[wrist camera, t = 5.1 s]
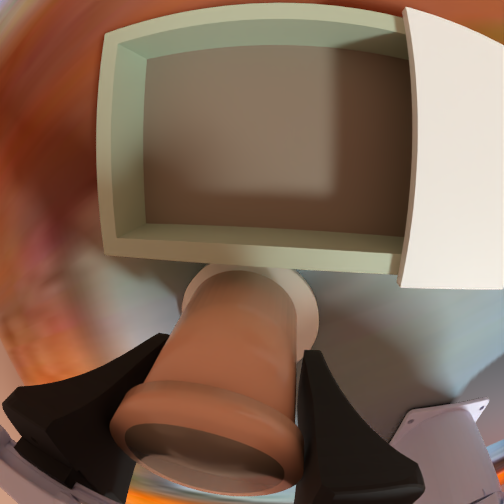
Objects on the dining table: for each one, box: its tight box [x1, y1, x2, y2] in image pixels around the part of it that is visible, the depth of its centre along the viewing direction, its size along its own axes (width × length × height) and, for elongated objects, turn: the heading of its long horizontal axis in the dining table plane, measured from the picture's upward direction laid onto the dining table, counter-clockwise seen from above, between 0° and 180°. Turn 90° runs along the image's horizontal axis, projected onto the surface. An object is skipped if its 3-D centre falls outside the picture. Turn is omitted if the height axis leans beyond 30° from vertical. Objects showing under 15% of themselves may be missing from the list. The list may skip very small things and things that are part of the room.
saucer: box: [182, 263, 319, 362], centre depth 14 cm, size 7×7×1 cm
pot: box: [109, 270, 304, 496], centre depth 10 cm, size 6×6×8 cm
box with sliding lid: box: [96, 3, 504, 289], centre depth 10 cm, size 11×18×4 cm, turn 89°
